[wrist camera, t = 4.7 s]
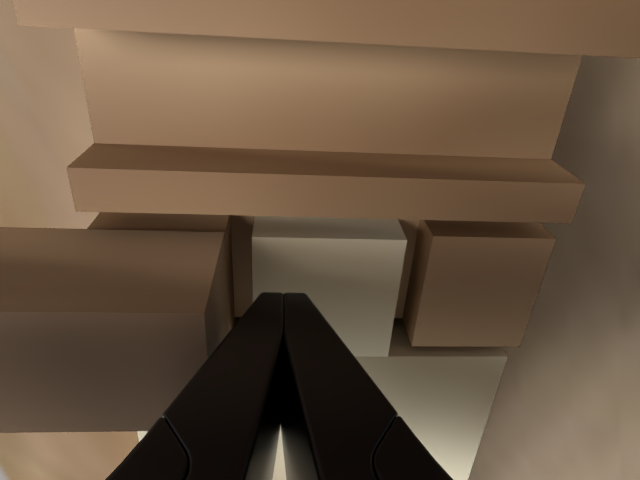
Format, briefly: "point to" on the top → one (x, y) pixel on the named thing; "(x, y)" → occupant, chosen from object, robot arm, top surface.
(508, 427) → the top surface
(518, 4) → the toolbox
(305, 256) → the lid
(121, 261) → the block
